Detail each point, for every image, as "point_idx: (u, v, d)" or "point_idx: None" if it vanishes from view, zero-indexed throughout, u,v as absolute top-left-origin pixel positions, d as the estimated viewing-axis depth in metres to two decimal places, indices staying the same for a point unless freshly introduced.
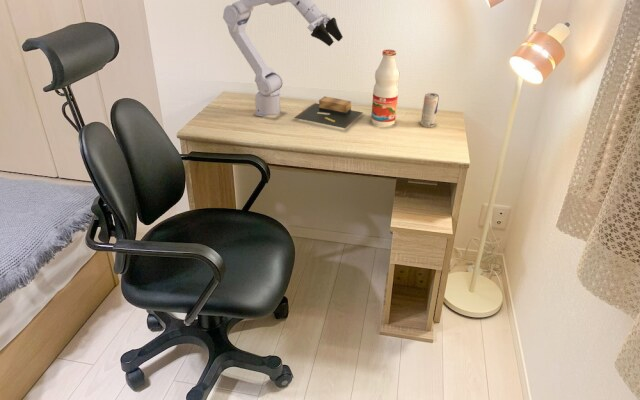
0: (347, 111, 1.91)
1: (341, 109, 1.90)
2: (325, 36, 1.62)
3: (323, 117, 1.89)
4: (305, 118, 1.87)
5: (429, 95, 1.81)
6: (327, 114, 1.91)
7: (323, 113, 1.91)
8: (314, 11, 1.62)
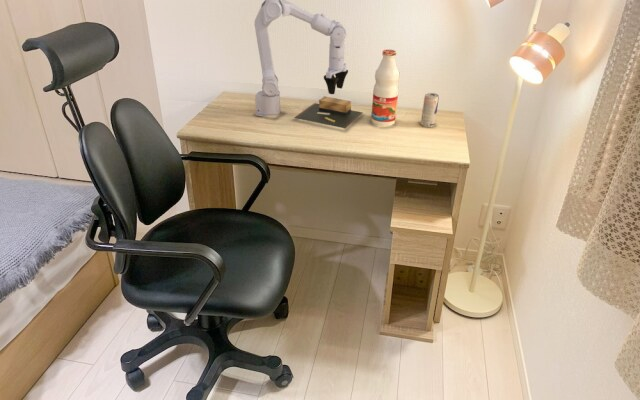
0: (347, 111, 1.91)
1: (341, 109, 1.90)
2: (332, 86, 1.85)
3: (323, 117, 1.89)
4: (305, 118, 1.87)
5: (429, 95, 1.81)
6: (327, 114, 1.91)
7: (323, 113, 1.91)
8: (339, 63, 1.82)
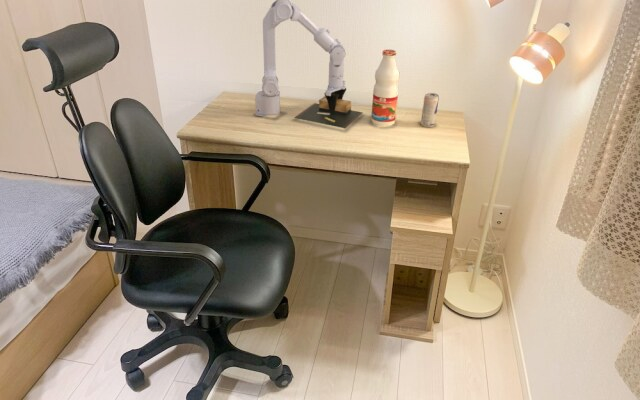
0: (347, 111, 1.92)
1: (342, 108, 1.90)
2: (332, 102, 1.90)
3: (323, 117, 1.89)
4: (305, 118, 1.87)
5: (429, 95, 1.81)
6: (327, 114, 1.91)
7: (323, 113, 1.91)
8: (339, 81, 1.86)
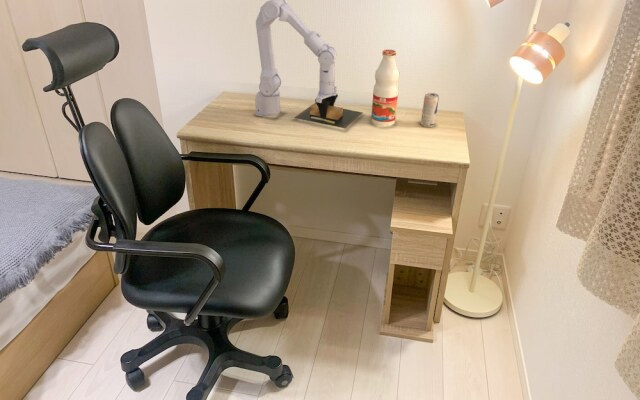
0: (339, 118, 1.85)
1: (333, 115, 1.84)
2: (323, 109, 1.84)
3: None
4: (305, 118, 1.87)
5: (429, 95, 1.81)
6: (320, 119, 1.86)
7: (316, 118, 1.87)
8: (330, 87, 1.80)
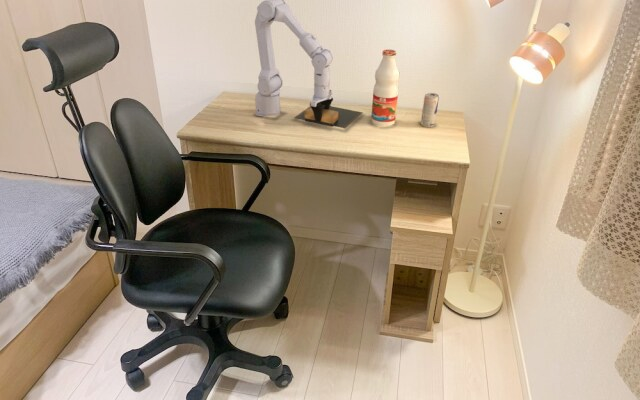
0: (334, 122, 1.82)
1: (328, 119, 1.81)
2: (318, 113, 1.80)
3: None
4: None
5: (429, 95, 1.81)
6: None
7: None
8: (325, 90, 1.76)
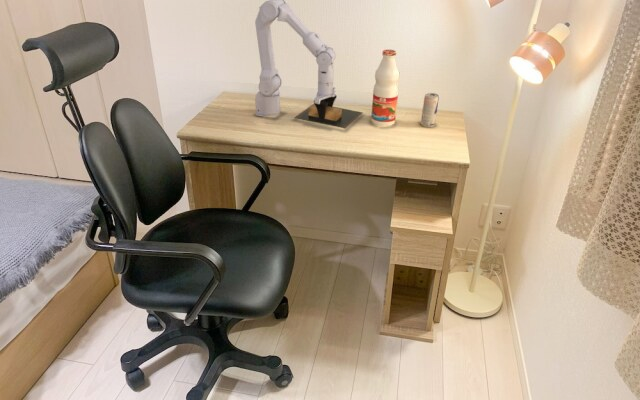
0: (337, 119, 1.84)
1: (331, 117, 1.83)
2: (322, 110, 1.83)
3: None
4: (305, 118, 1.87)
5: (429, 95, 1.81)
6: None
7: None
8: (328, 88, 1.79)
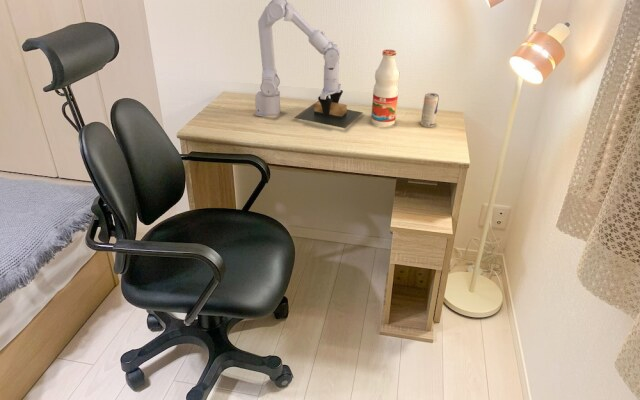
0: (343, 115, 1.88)
1: (337, 112, 1.87)
2: (326, 107, 1.86)
3: (323, 117, 1.89)
4: (305, 118, 1.87)
5: (429, 95, 1.81)
6: None
7: None
8: (334, 84, 1.82)
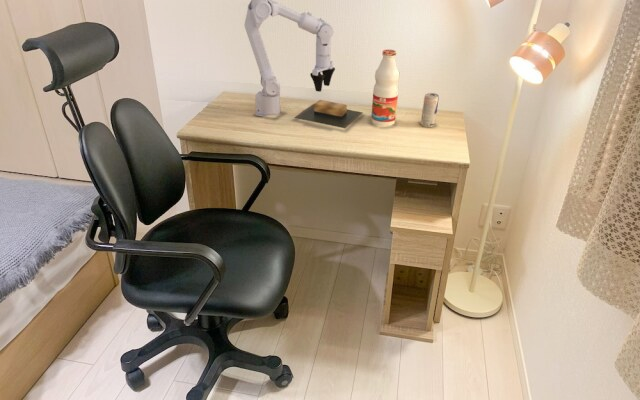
0: (343, 115, 1.88)
1: (337, 112, 1.87)
2: (318, 83, 1.88)
3: (323, 117, 1.89)
4: (305, 118, 1.87)
5: (429, 95, 1.81)
6: None
7: None
8: (326, 60, 1.85)
